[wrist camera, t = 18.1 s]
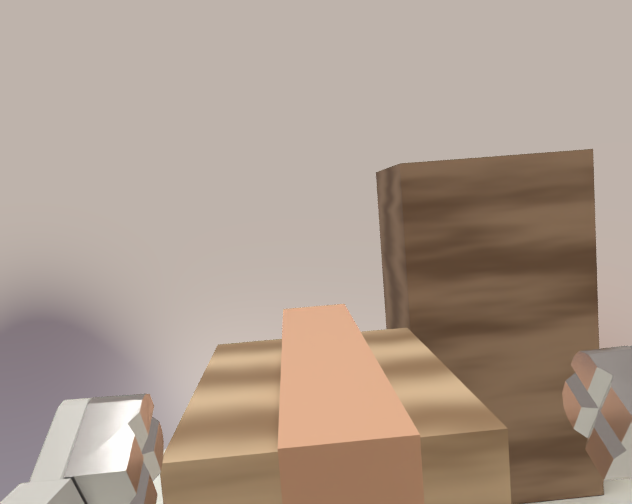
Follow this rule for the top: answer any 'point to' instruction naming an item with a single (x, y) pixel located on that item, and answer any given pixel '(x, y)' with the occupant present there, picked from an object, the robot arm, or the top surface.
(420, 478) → the long slim case
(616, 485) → the top surface
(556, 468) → the brown wooden stepped block
